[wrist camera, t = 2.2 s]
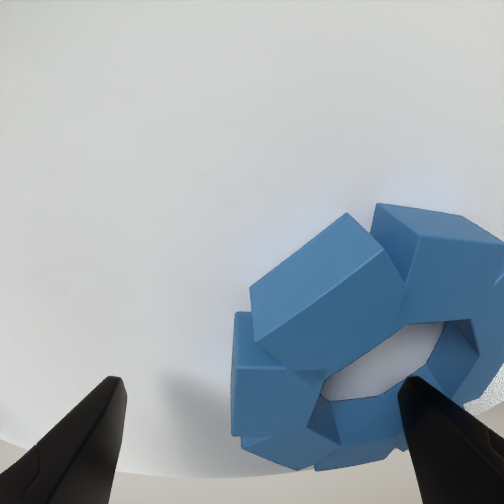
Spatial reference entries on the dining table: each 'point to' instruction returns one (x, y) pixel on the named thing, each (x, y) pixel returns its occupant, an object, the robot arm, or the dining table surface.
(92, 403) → the robot arm
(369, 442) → the blue ring
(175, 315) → the dining table surface
